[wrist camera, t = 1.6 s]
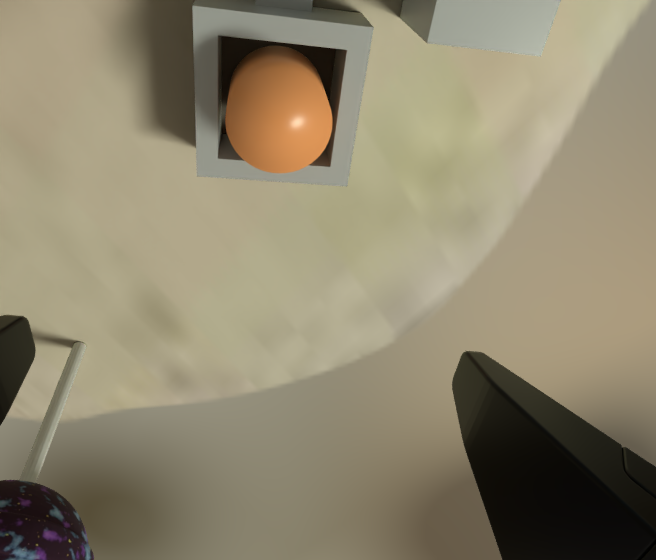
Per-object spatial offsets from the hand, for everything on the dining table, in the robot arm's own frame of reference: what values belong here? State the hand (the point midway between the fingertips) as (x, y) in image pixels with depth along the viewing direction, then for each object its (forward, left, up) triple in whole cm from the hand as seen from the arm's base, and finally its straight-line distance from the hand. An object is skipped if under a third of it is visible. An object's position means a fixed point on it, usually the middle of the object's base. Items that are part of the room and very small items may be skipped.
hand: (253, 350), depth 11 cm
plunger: (-1, +1, -12) cm, 12 cm away
